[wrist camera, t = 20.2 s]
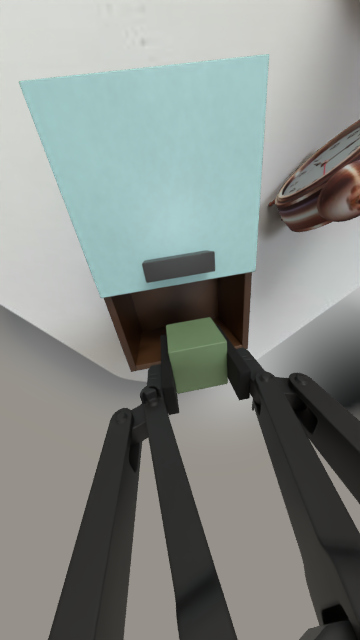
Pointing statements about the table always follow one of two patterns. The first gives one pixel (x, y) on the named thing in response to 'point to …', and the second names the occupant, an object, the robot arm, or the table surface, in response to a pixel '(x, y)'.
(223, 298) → the case
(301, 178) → the alarm clock
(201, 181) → the light blue board
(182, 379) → the block
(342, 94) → the table surface
